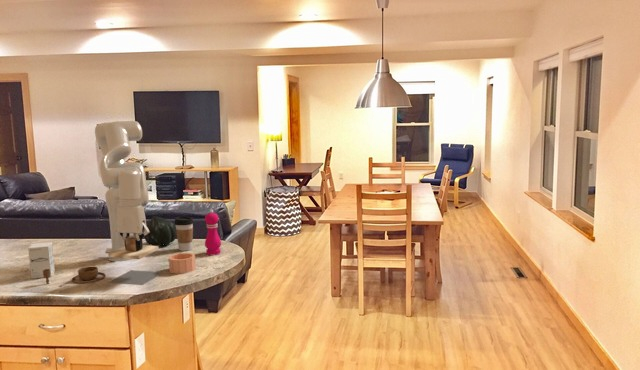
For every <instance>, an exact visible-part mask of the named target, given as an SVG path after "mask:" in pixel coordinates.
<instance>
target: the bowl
mask: <svg viewBox="0 0 640 370" xmlns="http://www.w3.org/2000/svg"><path fill="white" fill-rule="evenodd" d="M168 268H169V269H168V270H169V273H172V274H177V275H180V274H188V273H191V272H194V271H196V256H195V254H194V253H191V252H182V253H175V254H172V255H170V256H168Z"/></svg>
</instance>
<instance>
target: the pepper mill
mask: <svg viewBox="0 0 640 370" xmlns="http://www.w3.org/2000/svg"><path fill="white" fill-rule="evenodd" d="M219 220H220V219H219V215H218V214H217V213H214V210H213V209H209V213H207V214H206V215H205V217H204V221H205V222H206V224H205V225H206V227H205V228H207V235H206V238H205V241H204V246H205V248H206V251H205V252H206V253H205V254H206V255H208V256H217V255H219V254H221V246H222V240H221V238H220V235H219V233H218V227H219V226H218V225H219V224H218V221H219Z"/></svg>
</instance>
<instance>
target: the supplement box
mask: <svg viewBox="0 0 640 370" xmlns="http://www.w3.org/2000/svg"><path fill="white" fill-rule="evenodd" d="M53 244H54V243H53V242H52V241H51V242H39V243H38V242H36V243H32V244H30V245H29V246H28V247H27V248H28V249H27V250H28V259H29V268H30V278H31V279H32V280H33V279H39V278H40V279H41V278H42V279H43V278H45V277H44V276H43V270H45V269H50V277H49V278H51V277H53V275H54V274H55V271H56V269H55V258H54V257H55V256H54V248H53V247H54V246H53Z"/></svg>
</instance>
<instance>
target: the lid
mask: <svg viewBox="0 0 640 370" xmlns="http://www.w3.org/2000/svg"><path fill="white" fill-rule="evenodd" d="M125 241H126V250H125V246H124V247H122V248H120V249H118V250H115V251H113V252H111V253H107V255H108V258H109V257H116V258H129V259H132V260H141V259H143V258H145V257H147V256H149V255H151V254H153V253H154V252H156V251H158V250H160V248H159V247H160V246H152V245H150V244H147V245H146V244H143V247H142V249H141V250H139V251H137V250H136V241H137V238H136V235H134V236H129V237H127V238H125Z"/></svg>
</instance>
